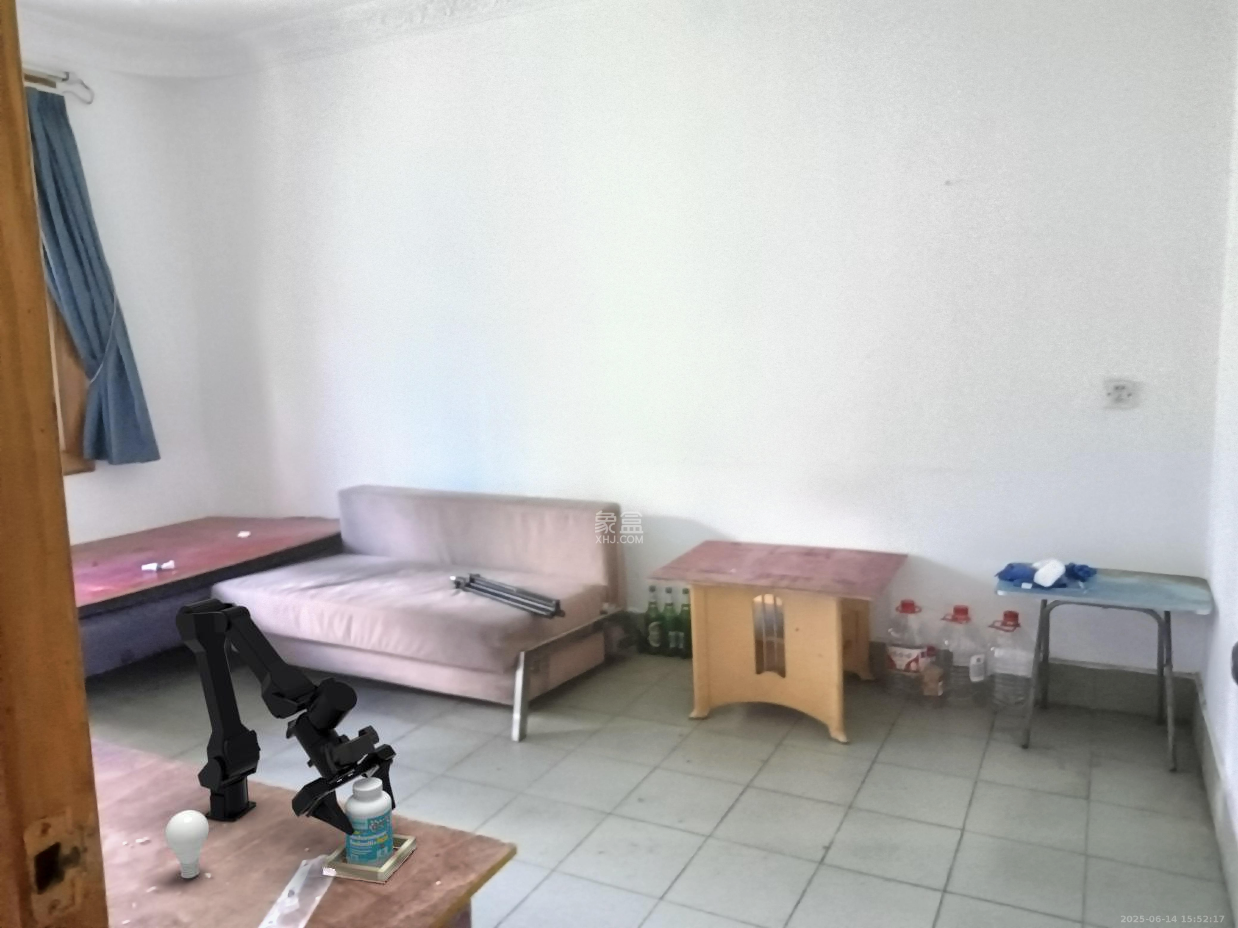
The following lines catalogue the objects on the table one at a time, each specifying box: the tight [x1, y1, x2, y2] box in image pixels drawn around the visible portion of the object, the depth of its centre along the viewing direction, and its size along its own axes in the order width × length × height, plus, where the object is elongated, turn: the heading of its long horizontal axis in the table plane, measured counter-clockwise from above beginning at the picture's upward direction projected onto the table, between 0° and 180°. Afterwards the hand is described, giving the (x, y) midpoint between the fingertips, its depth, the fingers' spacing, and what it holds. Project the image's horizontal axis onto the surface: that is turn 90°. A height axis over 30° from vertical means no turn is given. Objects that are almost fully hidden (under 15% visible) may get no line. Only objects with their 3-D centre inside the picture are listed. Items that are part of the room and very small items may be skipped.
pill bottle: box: [344, 777, 394, 868], centre depth 151 cm, size 8×7×14 cm
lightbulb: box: [164, 809, 210, 879], centre depth 147 cm, size 6×6×11 cm
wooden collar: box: [321, 833, 418, 882], centre depth 152 cm, size 11×11×2 cm
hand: (373, 820), depth 150 cm, fingers open, 9 cm apart
